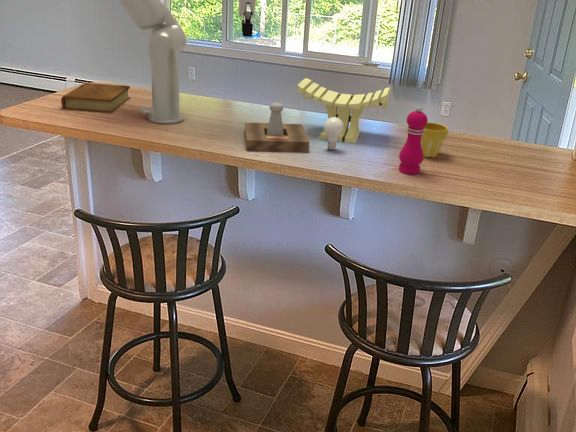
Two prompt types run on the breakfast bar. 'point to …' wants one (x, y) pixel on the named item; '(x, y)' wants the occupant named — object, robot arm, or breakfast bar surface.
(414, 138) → the pepper mill
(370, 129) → the breakfast bar surface
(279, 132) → the salt shaker
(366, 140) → the breakfast bar surface
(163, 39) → the robot arm
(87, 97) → the diary
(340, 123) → the lightbulb
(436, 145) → the plant pot
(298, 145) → the socket block
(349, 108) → the slatted curved stool
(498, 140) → the breakfast bar surface
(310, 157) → the breakfast bar surface
